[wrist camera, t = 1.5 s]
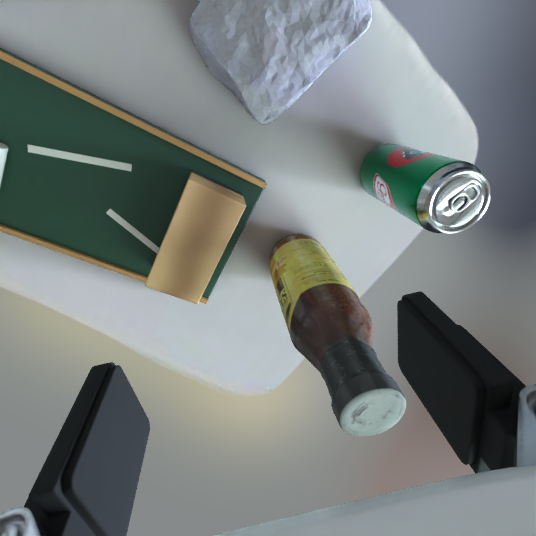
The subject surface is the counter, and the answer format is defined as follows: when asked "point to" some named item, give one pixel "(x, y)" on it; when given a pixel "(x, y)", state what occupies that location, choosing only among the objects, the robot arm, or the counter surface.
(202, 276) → the eraser
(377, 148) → the soda can
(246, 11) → the stone block
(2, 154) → the chalk stick
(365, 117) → the counter surface
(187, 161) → the chalkboard
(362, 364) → the sauce bottle
